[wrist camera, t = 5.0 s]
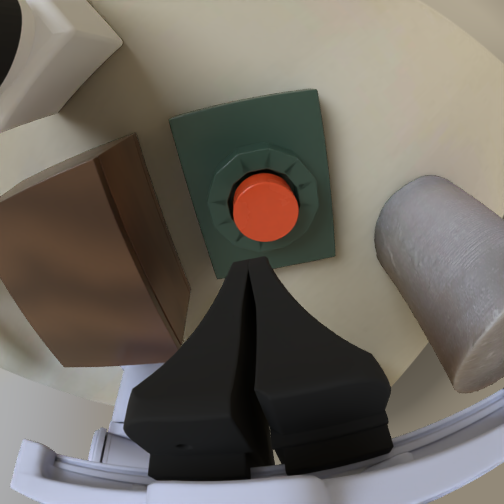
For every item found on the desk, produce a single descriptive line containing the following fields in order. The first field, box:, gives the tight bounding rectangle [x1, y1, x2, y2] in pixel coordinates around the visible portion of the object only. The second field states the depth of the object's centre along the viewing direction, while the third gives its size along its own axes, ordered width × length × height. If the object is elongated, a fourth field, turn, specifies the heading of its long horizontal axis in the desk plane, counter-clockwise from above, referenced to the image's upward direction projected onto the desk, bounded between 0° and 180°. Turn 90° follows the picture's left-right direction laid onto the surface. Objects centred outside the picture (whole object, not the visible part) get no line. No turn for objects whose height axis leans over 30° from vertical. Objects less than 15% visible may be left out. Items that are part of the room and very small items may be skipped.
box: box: [0, 133, 191, 345], centre depth 19 cm, size 13×11×6 cm
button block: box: [169, 89, 335, 279], centre depth 19 cm, size 12×9×4 cm
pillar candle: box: [374, 175, 504, 393], centre depth 16 cm, size 10×10×15 cm
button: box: [233, 173, 299, 242], centre depth 17 cm, size 4×4×2 cm
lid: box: [0, 156, 181, 367], centre depth 16 cm, size 14×11×1 cm
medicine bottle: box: [0, 0, 123, 133], centre depth 9 cm, size 7×7×12 cm
